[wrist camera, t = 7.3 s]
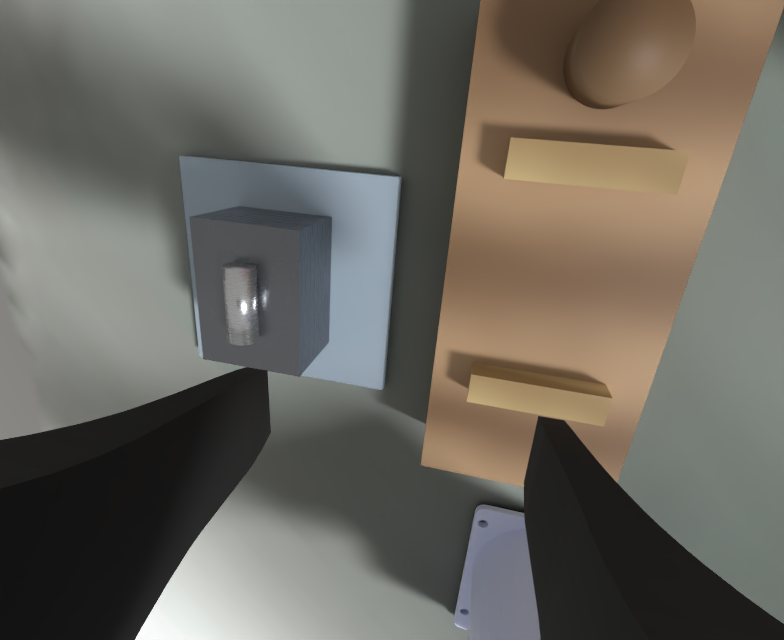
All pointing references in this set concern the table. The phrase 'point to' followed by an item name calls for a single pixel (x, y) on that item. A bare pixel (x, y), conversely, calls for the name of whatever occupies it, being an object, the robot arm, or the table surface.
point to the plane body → (581, 215)
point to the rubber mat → (348, 250)
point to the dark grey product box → (263, 286)
